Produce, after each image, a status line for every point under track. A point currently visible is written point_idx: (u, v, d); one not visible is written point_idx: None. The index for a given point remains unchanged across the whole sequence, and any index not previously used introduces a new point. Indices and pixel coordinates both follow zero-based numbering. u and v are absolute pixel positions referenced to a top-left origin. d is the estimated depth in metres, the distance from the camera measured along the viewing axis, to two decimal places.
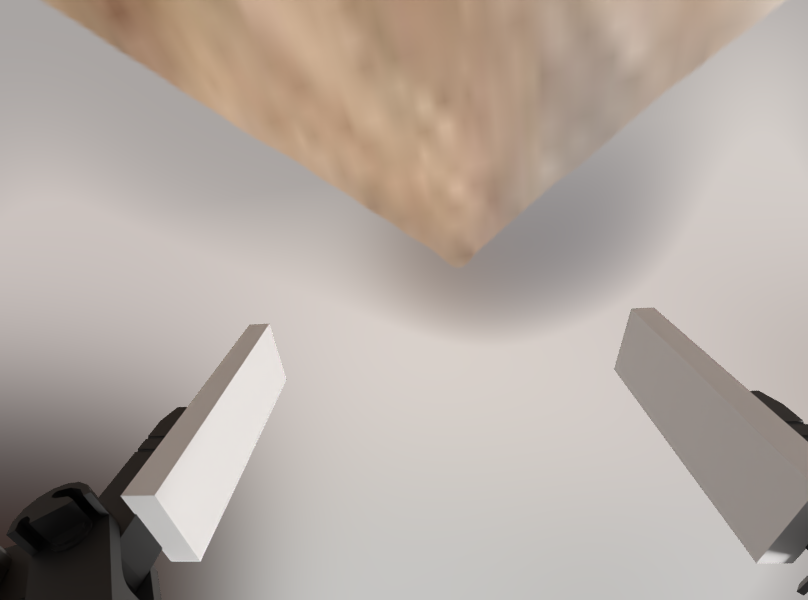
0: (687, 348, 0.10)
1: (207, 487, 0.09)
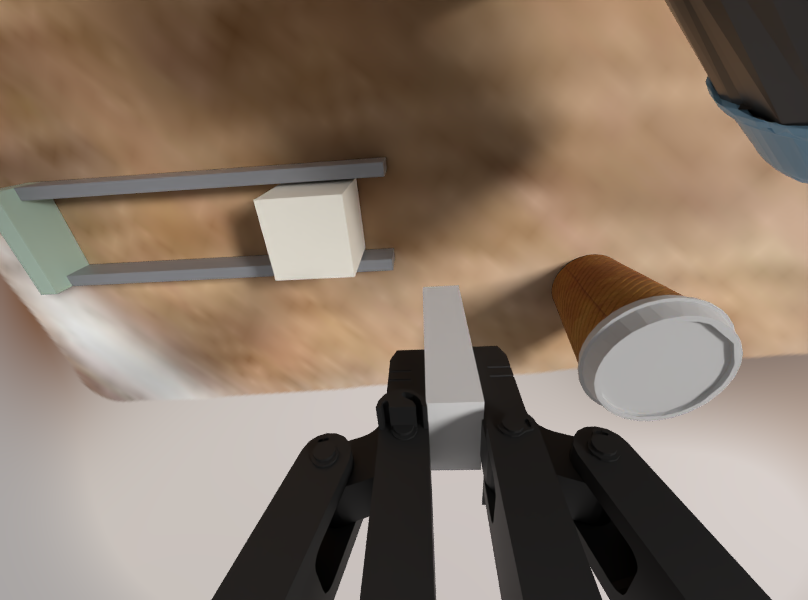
0: (454, 314, 0.13)
1: None
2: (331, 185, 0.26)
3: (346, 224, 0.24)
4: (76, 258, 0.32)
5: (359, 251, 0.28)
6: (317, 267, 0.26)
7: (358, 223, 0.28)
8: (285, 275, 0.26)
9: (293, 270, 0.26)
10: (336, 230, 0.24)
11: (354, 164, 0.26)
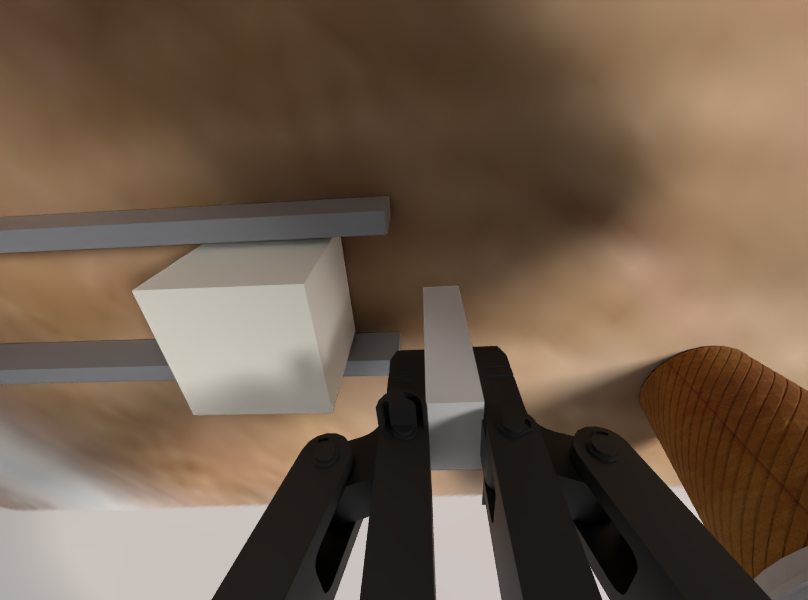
0: (454, 314, 0.13)
1: None
2: (292, 249, 0.15)
3: (314, 333, 0.13)
4: None
5: (343, 352, 0.17)
6: (264, 397, 0.14)
7: (342, 304, 0.17)
8: (210, 408, 0.15)
9: (223, 401, 0.15)
10: (296, 343, 0.13)
11: (333, 213, 0.14)
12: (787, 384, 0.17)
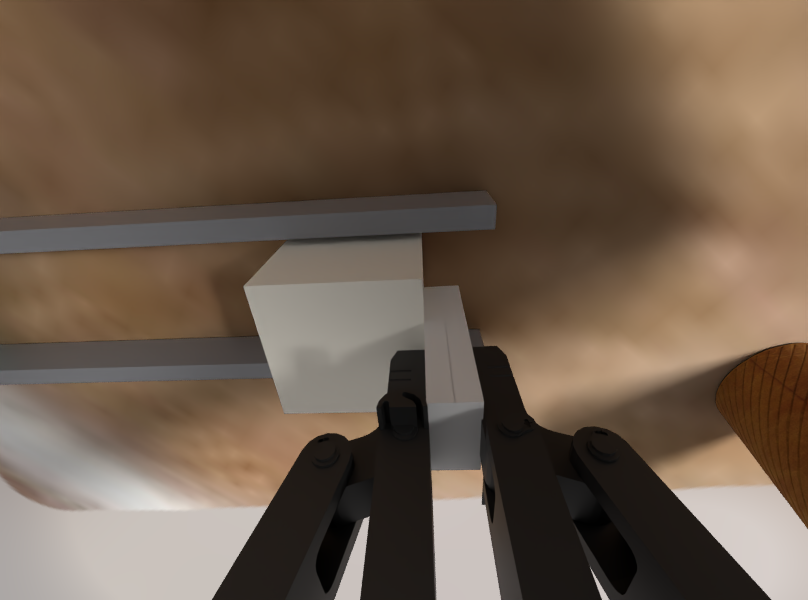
0: (454, 314, 0.13)
1: None
2: (386, 245, 0.14)
3: (423, 329, 0.13)
4: None
5: None
6: (360, 396, 0.14)
7: None
8: (302, 406, 0.15)
9: (317, 399, 0.14)
10: (403, 340, 0.13)
11: (442, 207, 0.14)
12: None
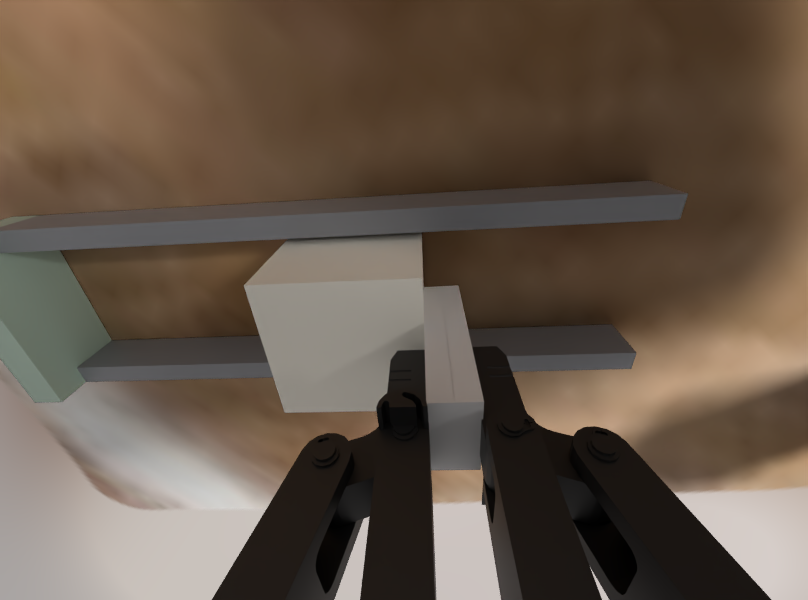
0: (454, 314, 0.13)
1: None
2: (386, 244, 0.14)
3: (423, 328, 0.13)
4: (92, 335, 0.20)
5: None
6: (360, 395, 0.14)
7: None
8: (302, 406, 0.15)
9: (317, 398, 0.14)
10: (403, 339, 0.13)
11: (629, 197, 0.14)
12: None
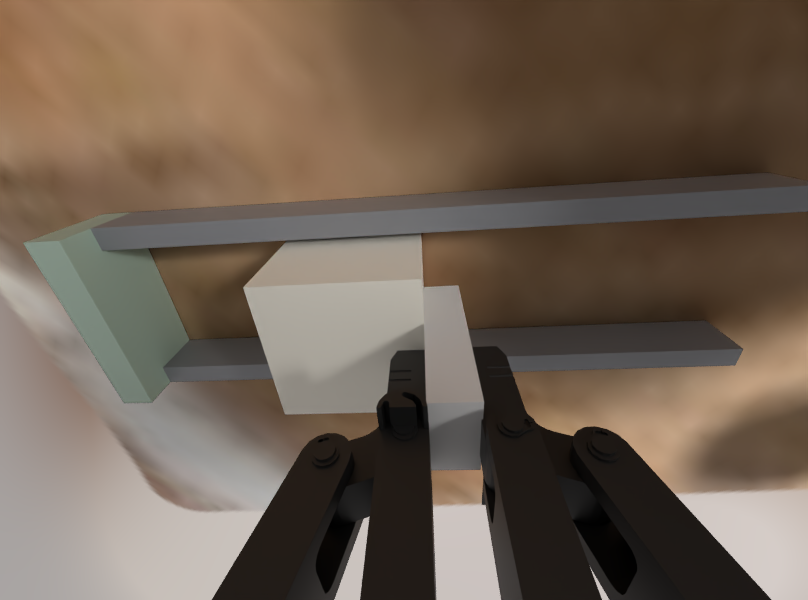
0: (454, 314, 0.13)
1: None
2: (386, 245, 0.14)
3: (423, 329, 0.13)
4: (174, 334, 0.20)
5: None
6: (361, 396, 0.14)
7: None
8: (303, 407, 0.15)
9: (317, 400, 0.14)
10: (403, 340, 0.13)
11: (762, 188, 0.13)
12: None
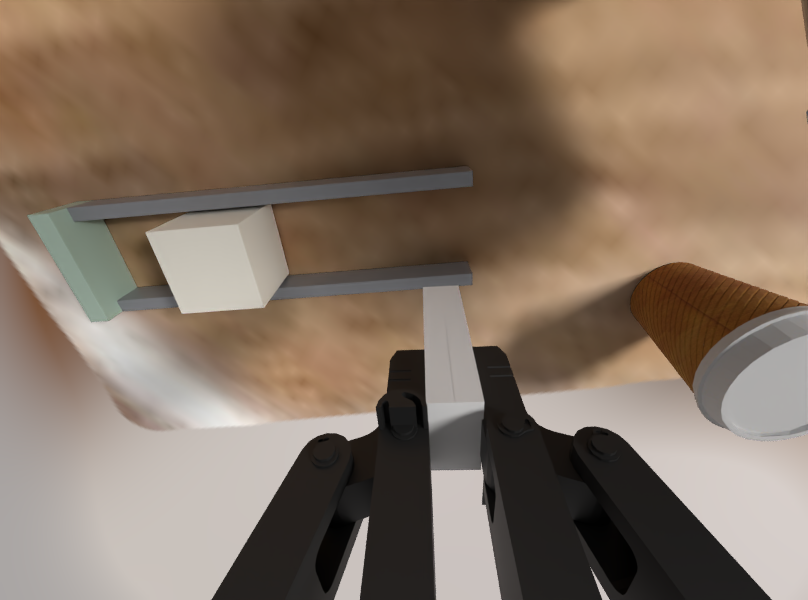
0: (455, 314, 0.13)
1: None
2: (237, 213, 0.25)
3: (247, 254, 0.23)
4: (125, 281, 0.30)
5: (275, 279, 0.27)
6: (223, 299, 0.24)
7: (274, 250, 0.27)
8: (191, 308, 0.25)
9: (198, 303, 0.25)
10: (237, 261, 0.23)
11: (441, 174, 0.24)
12: (720, 275, 0.26)
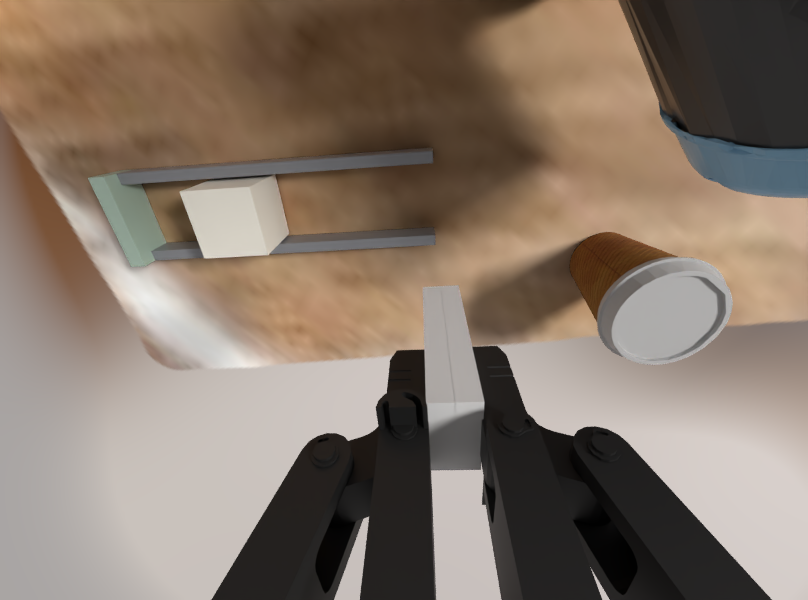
0: (455, 314, 0.13)
1: None
2: (249, 180, 0.32)
3: (256, 211, 0.30)
4: (157, 236, 0.37)
5: (277, 235, 0.34)
6: (236, 247, 0.32)
7: (277, 212, 0.34)
8: (212, 254, 0.32)
9: (217, 249, 0.32)
10: (248, 216, 0.30)
11: (408, 153, 0.31)
12: (632, 240, 0.33)
